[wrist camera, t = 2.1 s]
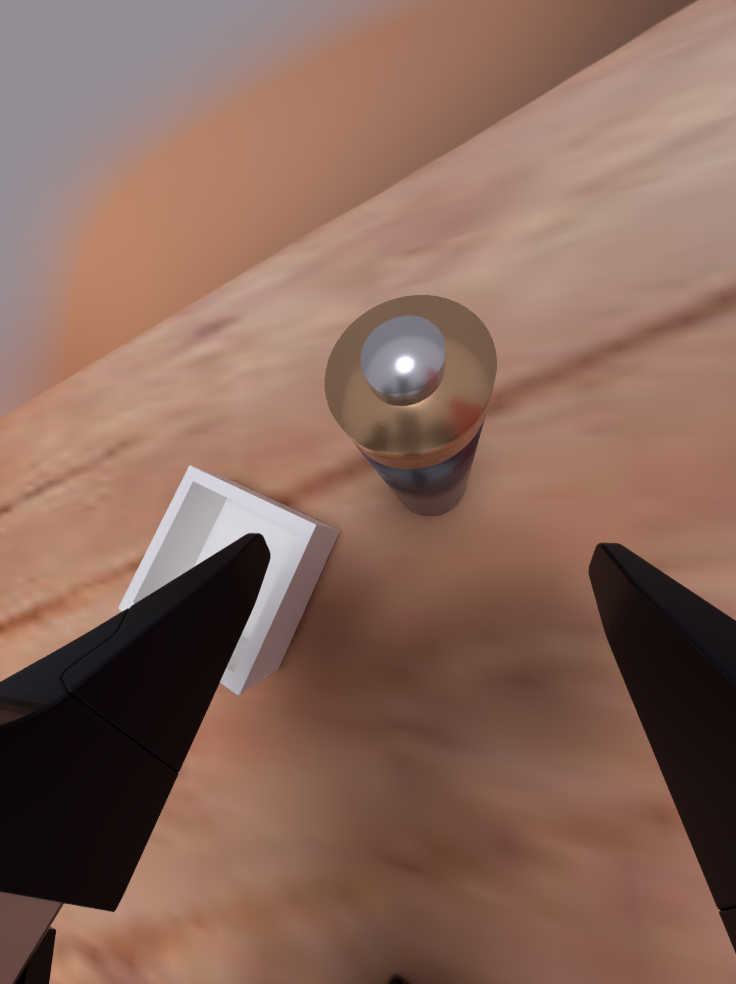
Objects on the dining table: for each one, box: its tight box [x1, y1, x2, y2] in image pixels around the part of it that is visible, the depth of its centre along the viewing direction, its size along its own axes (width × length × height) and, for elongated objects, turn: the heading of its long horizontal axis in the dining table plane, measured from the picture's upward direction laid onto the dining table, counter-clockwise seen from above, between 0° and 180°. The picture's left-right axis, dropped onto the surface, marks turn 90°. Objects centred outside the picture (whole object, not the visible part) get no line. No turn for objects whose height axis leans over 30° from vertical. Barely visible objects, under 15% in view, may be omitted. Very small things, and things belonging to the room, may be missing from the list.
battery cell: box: [325, 295, 497, 516], centre depth 14 cm, size 4×4×13 cm
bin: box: [118, 466, 340, 696], centre depth 20 cm, size 10×10×4 cm
